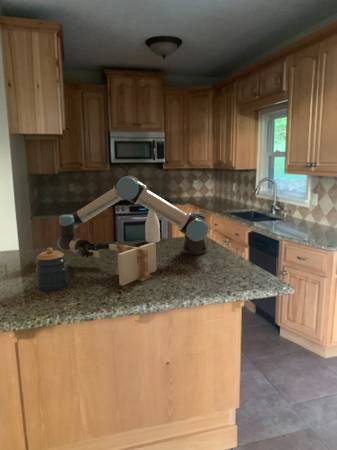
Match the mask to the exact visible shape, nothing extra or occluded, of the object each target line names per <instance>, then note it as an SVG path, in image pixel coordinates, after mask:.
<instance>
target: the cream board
mask: <svg viewBox="0 0 337 450" xmlns="http://www.w3.org/2000/svg"><path fill="white" fill-rule="evenodd" d="M156 243H157V242H156ZM156 243H153V242H152V243H146V244H144V245H140V246H138V248H144V249H148V274H150V275H151V274H152V273H154V272H156V271H157V247H156V246H157V245H156ZM118 265H119V275H118V281H119V285H120V286H126V285H127V284H129V283H130V284H131V282H134V281H136V280H138V277H140V276H141V272H140V263H138V262H137V249H131V250H128V251H125V252H122V253H119V254H118Z"/></svg>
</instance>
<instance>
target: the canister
mask: <svg viewBox="0 0 337 450" xmlns="http://www.w3.org/2000/svg"><path fill="white" fill-rule="evenodd" d="M66 261H67V258H66V257H65V253H63V252H62V251H60V250H55V249H53V247H47V249H46V251H42V252H40V253H38V254H37V255H36V260H35V261H34V264H35V266H36V268H35V273H36V274H35V275H36V286H37V289H38V290H39V291H41V292H45V293H48V292H57V291H61V290H64V289H65V288H67V287H68V286H69V279H68V265H67V263H66Z"/></svg>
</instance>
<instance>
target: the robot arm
mask: <svg viewBox="0 0 337 450" xmlns="http://www.w3.org/2000/svg"><path fill="white" fill-rule="evenodd" d="M120 201H129V202H130V203H131V204H134V205H141V206H142V207H144V208H146V209H148V211H149V210H151V211H152V212H154V213H156V215H157V216H159V217H161V218H162V219H164V220H165V221H167V222H168V223H171V224H172V225H174V226H176V227H177V228H178V231H179V232H180V233H181V234H183V235H184V239H183V243H182V245H181V253H183V254H185V255H190V256H191V255H193V256H197V255H203V254H206V253H207V252H208V246H207V243H206V237H207V235H208V232H209V228H208V224H207V223H206V221H205V213H204V212H184V211H183V210H181V208H178V207H177V206H175V205H173V204H171V203H170V202H169V201H167V200H165V199H164V198H162V197H160V196H159V195H157V194H156V193H154V192H152V191H150V190H149V189H148V187H147V184H144V183H143V182H141V181H140V180H139V179H138V178H137V177H136V176H134V175H126V176H122V177H121V178H120V179H118V181H117V184H114V185H113V188H112V189H110V190H109V191H107V192H106V193H103V194H102V195H101V196H98V198H96V199H94V200H92V201H91V202H90V203H88V204H87V205H85V206H83V207H82V208H80V209H79V210H77V211H75V212H73V214H61V215H60V216H59V218H58V219H59V222H58V224H59V232H60V236H59V237H58V239H57V242H56V245H57V247H58V248H59V249H61V250H63V251H68V252H72V253H76V254H79V255H80V256H81V257H85V258H90V257H94V258H100V251H98V250H108V249H109V250H110V251H115V252H117V247H116V245H117V244H113V242H111V241H110V242H97V241H96V242H94V243H93V242H90V241H89V240H88V239H83V238H79V237H76V230H75V229H76V228H78V227H79V226H81V225H83V224H85V223H86V222H87V221H89V220H91V219H92V218H94V217H95V216H97V215H99V214H100V213H103V212H104V211H105V210H107V209H109V207H112V206H113V205H114V204H115V205H116V203H118V202H120ZM89 256H90V257H89Z"/></svg>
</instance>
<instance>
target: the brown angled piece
mask: <svg viewBox="0 0 337 450" xmlns="http://www.w3.org/2000/svg"><path fill="white" fill-rule="evenodd" d="M115 245H116V247H117V251H116V265H117V271H116V275H117V276H119V265H118V254H119V253H122V252H125V251H128V250H131V249H137V262H138V263H140V272H141V276H140V277H138V279H137V280H138V281H141V282H144V281H147V280H149V279H151V278H152V274H151V273H150V274H148V249H144V248H139V246H138V247H137V246H131V245H126V244H120V243H119V244H115Z"/></svg>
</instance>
